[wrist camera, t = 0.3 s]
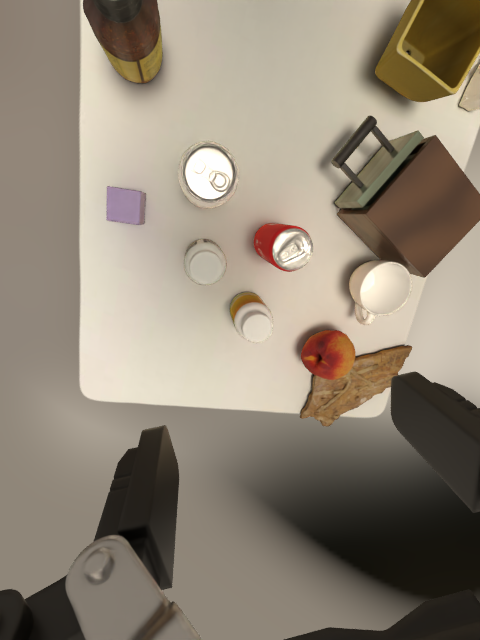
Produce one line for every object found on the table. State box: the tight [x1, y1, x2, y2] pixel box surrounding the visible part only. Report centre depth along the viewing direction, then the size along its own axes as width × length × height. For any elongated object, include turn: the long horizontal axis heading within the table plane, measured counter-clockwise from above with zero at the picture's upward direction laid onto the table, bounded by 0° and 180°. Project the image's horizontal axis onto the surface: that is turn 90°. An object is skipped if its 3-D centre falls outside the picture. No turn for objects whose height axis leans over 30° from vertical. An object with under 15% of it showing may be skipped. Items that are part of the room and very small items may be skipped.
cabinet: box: [337, 135, 480, 278], centre depth 44 cm, size 13×12×9 cm
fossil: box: [300, 345, 412, 426], centre depth 56 cm, size 21×13×2 cm, turn 100°
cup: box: [349, 260, 412, 325], centre depth 48 cm, size 8×10×7 cm
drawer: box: [331, 116, 424, 210], centre depth 42 cm, size 17×10×7 cm, turn 50°
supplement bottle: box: [230, 292, 273, 343], centre depth 45 cm, size 5×5×10 cm
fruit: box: [301, 330, 355, 380], centre depth 50 cm, size 8×8×8 cm
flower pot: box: [375, 0, 480, 102], centre depth 37 cm, size 9×9×9 cm
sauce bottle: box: [83, 0, 162, 83], centre depth 29 cm, size 6×6×20 cm
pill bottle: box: [184, 239, 226, 285], centre depth 42 cm, size 5×5×10 cm
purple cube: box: [107, 186, 146, 225], centre depth 41 cm, size 4×4×4 cm
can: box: [178, 141, 239, 209], centre depth 38 cm, size 6×6×12 cm
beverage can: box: [254, 223, 313, 272], centre depth 41 cm, size 5×5×12 cm
